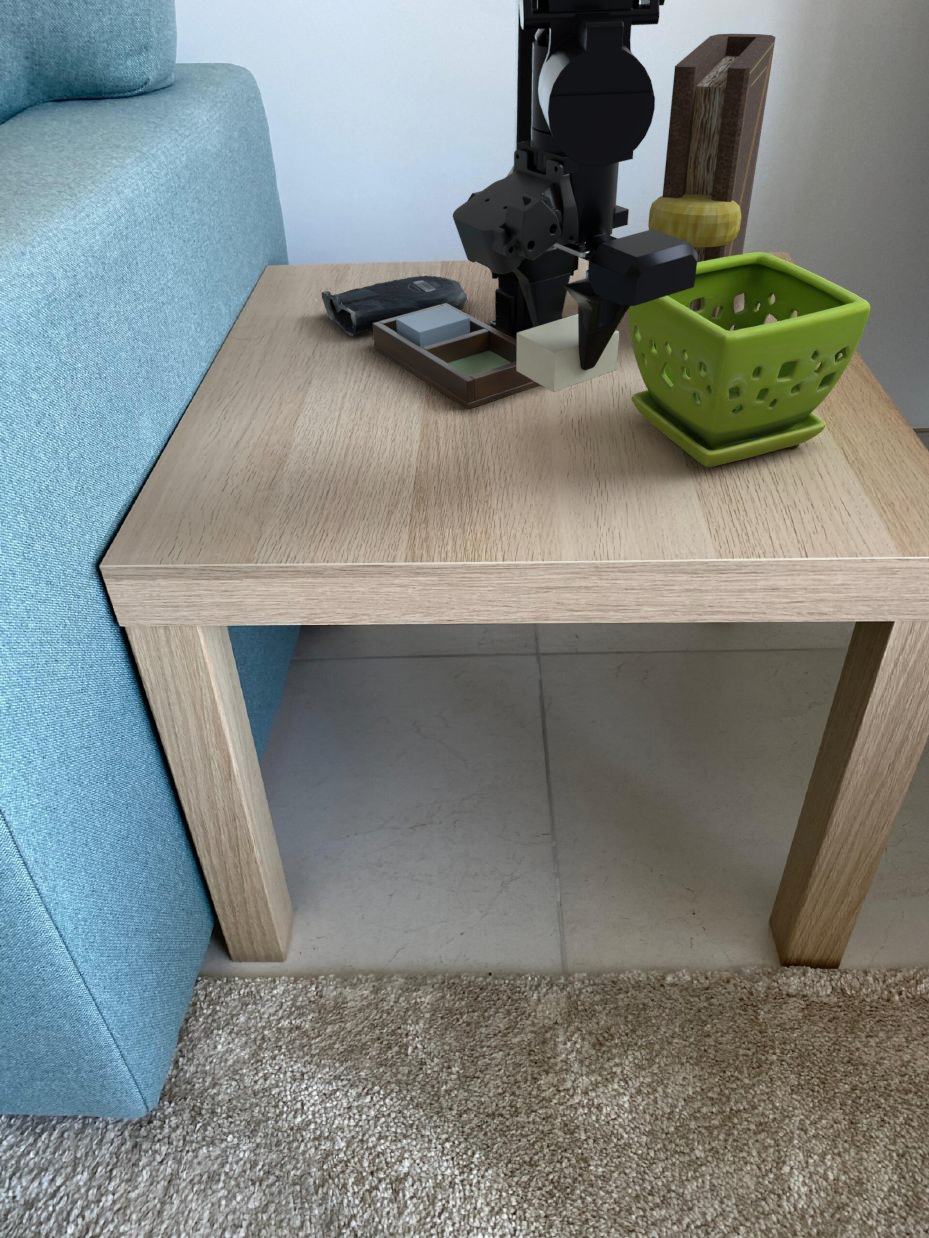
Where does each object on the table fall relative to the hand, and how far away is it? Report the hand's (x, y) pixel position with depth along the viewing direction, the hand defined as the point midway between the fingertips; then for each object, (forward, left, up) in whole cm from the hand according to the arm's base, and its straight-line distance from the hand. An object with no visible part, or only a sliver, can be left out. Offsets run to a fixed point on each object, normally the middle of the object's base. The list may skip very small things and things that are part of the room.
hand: (566, 357), depth 69 cm
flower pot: (-16, +2, -11) cm, 19 cm away
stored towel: (-5, -28, -10) cm, 30 cm away
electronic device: (-8, -39, -11) cm, 41 cm away
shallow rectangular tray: (-5, -24, -10) cm, 26 cm away
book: (-32, -18, -11) cm, 38 cm away
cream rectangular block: (0, 0, -1) cm, 1 cm away
